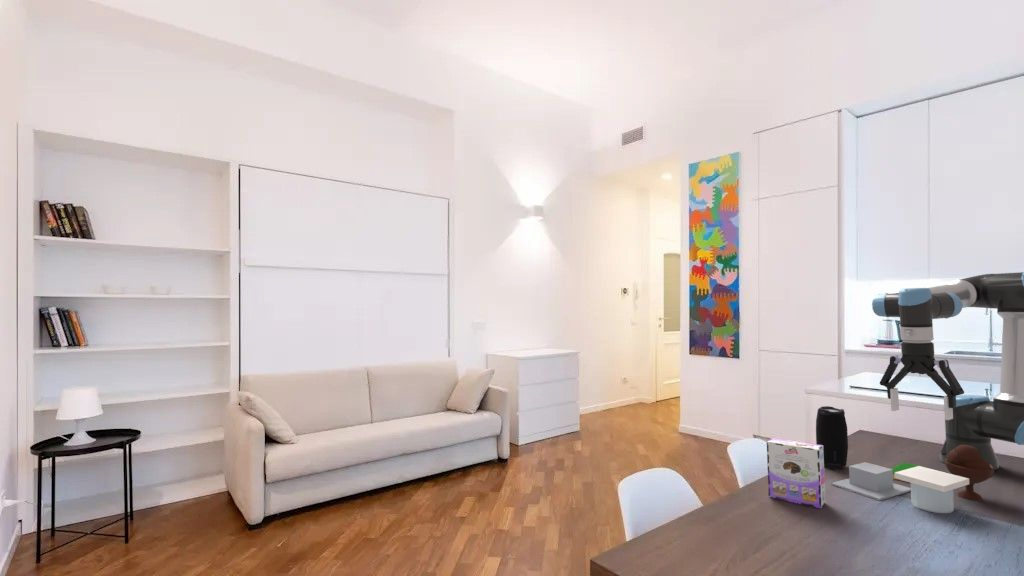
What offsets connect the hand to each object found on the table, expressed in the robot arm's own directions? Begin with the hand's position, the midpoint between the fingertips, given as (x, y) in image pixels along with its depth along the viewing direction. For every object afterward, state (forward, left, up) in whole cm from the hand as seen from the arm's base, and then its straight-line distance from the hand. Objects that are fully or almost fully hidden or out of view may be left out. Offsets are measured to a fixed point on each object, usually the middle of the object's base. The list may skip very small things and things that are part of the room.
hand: (921, 414), depth 151 cm
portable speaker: (-3, -29, -24) cm, 37 cm away
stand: (+6, -11, -24) cm, 27 cm away
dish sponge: (-15, -12, -24) cm, 31 cm away
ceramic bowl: (+6, +5, -24) cm, 25 cm away
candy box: (+34, -15, -24) cm, 44 cm away
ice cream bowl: (-11, +6, -24) cm, 27 cm away
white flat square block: (+6, +5, -17) cm, 18 cm away
